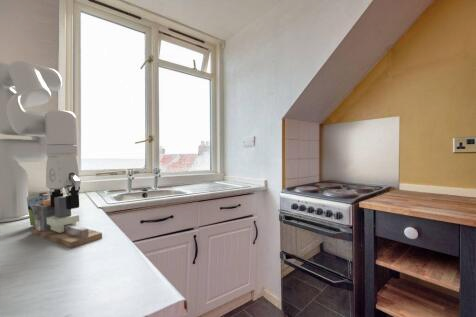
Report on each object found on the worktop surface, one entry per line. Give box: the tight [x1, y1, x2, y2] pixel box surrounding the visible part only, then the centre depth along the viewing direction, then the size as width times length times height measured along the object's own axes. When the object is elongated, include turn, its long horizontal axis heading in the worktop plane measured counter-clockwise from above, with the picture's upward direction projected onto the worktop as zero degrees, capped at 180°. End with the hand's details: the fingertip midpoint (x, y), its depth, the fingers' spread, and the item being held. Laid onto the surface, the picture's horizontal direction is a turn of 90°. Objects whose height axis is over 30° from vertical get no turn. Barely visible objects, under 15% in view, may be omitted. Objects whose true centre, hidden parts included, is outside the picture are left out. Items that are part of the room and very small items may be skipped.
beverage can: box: [27, 191, 50, 227], centre depth 78 cm, size 6×7×12 cm
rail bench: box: [30, 203, 103, 249], centre depth 68 cm, size 25×8×9 cm, turn 62°
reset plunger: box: [43, 199, 51, 206], centre depth 72 cm, size 4×4×2 cm
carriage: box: [47, 195, 80, 233], centre depth 68 cm, size 6×6×10 cm
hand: (64, 207), depth 68 cm, fingers open, 9 cm apart
